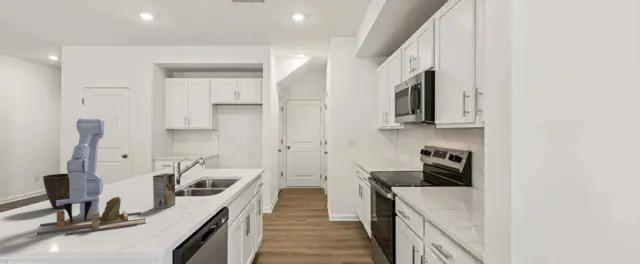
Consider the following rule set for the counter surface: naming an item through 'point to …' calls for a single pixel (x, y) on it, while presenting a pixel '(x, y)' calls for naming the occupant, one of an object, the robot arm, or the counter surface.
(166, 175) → the coffee box
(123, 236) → the counter surface
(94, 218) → the maple strip
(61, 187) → the plant pot
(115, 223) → the rails
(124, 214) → the oak sled
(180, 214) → the counter surface
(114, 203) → the rock
